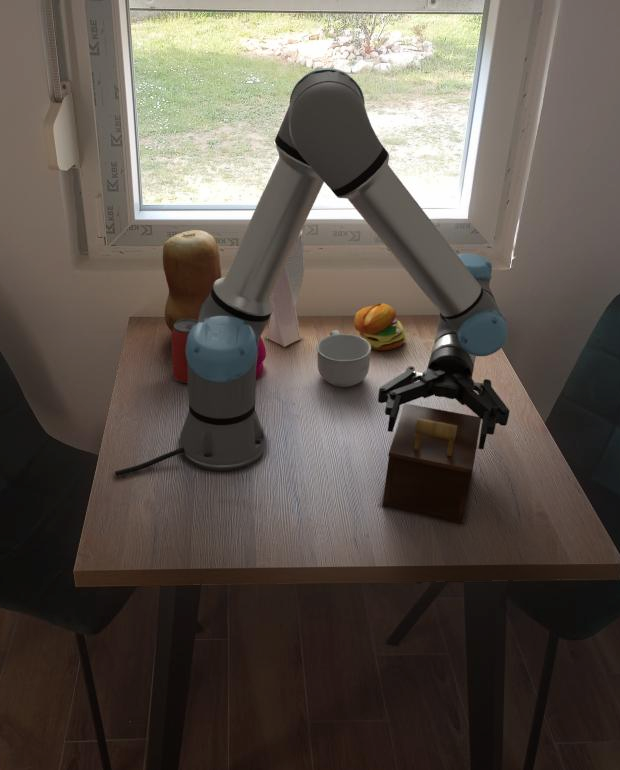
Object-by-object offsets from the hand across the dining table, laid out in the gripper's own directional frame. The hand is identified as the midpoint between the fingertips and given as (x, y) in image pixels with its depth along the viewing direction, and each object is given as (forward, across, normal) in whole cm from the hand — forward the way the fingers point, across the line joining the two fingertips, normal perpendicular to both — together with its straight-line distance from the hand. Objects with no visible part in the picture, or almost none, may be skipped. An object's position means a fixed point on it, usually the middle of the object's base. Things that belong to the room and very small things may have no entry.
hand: (435, 433), depth 119 cm
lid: (-7, 0, -6) cm, 9 cm away
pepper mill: (-34, +41, -17) cm, 56 cm away
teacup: (-39, +22, -17) cm, 48 cm away
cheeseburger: (-56, +17, -17) cm, 61 cm away
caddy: (-7, 0, -17) cm, 18 cm away
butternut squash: (-43, +56, -17) cm, 73 cm away
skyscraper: (-50, +38, -17) cm, 65 cm away
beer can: (-28, +52, -17) cm, 61 cm away
